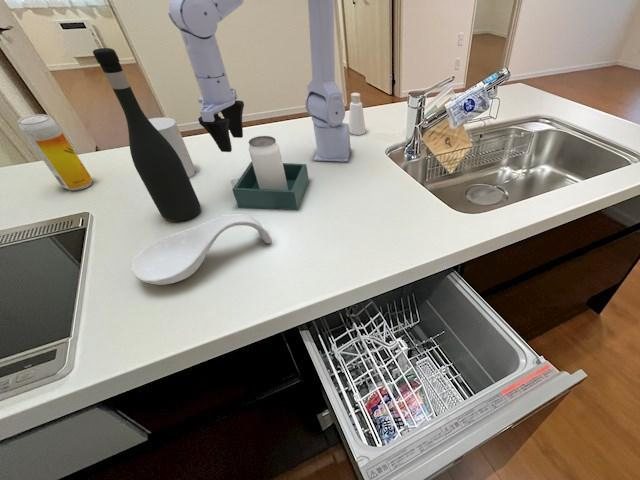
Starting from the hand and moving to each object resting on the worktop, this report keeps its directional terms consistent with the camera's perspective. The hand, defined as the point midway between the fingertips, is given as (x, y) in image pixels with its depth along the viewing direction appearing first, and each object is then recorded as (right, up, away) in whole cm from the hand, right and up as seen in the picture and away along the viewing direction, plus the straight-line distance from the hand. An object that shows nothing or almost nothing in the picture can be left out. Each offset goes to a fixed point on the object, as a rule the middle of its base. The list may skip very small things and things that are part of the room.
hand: (232, 143), depth 78 cm
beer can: (-39, -8, +5) cm, 40 cm away
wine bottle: (-10, -16, -1) cm, 19 cm away
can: (+8, -9, +6) cm, 13 cm away
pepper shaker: (+24, +19, +34) cm, 46 cm away
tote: (+8, -9, +6) cm, 13 cm away
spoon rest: (+1, -28, -11) cm, 30 cm away
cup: (-19, -3, +11) cm, 22 cm away
